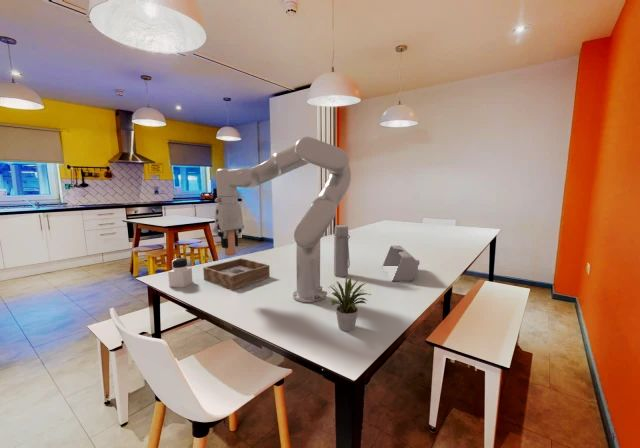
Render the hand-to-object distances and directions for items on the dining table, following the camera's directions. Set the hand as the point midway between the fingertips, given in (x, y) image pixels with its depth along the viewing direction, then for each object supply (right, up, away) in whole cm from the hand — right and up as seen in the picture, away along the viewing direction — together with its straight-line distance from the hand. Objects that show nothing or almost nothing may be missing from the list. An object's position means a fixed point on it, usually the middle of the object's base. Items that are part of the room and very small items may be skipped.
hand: (230, 246), depth 113 cm
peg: (0, -3, +1) cm, 3 cm away
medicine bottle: (-28, -19, +16) cm, 37 cm away
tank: (+78, -17, +32) cm, 86 cm away
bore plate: (-4, -18, +25) cm, 31 cm away
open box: (-4, -18, +25) cm, 31 cm away
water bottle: (+47, -17, +29) cm, 58 cm away
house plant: (+44, -25, -23) cm, 55 cm away
